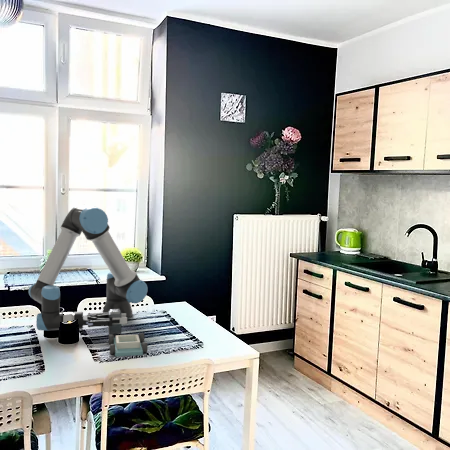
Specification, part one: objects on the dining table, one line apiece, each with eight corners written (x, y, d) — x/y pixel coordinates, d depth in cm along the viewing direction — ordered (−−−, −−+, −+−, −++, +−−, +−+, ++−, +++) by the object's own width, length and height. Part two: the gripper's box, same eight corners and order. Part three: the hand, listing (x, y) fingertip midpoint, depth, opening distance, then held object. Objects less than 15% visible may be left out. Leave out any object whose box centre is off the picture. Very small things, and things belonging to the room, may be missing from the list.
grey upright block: (108, 333, 214) (109, 312, 213) (108, 330, 219) (108, 308, 218) (121, 333, 216) (121, 311, 215) (120, 329, 221) (120, 308, 220)
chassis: (108, 341, 208) (108, 332, 207) (142, 339, 212) (143, 330, 211) (110, 356, 191) (110, 347, 190) (147, 354, 195) (148, 345, 194)
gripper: (74, 322, 221) (124, 320, 228) (73, 335, 204) (127, 332, 210) (74, 306, 220) (125, 304, 227) (73, 318, 203) (128, 316, 209)
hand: (126, 318), depth 218 cm, fingers closed on grey upright block, 5 cm apart
